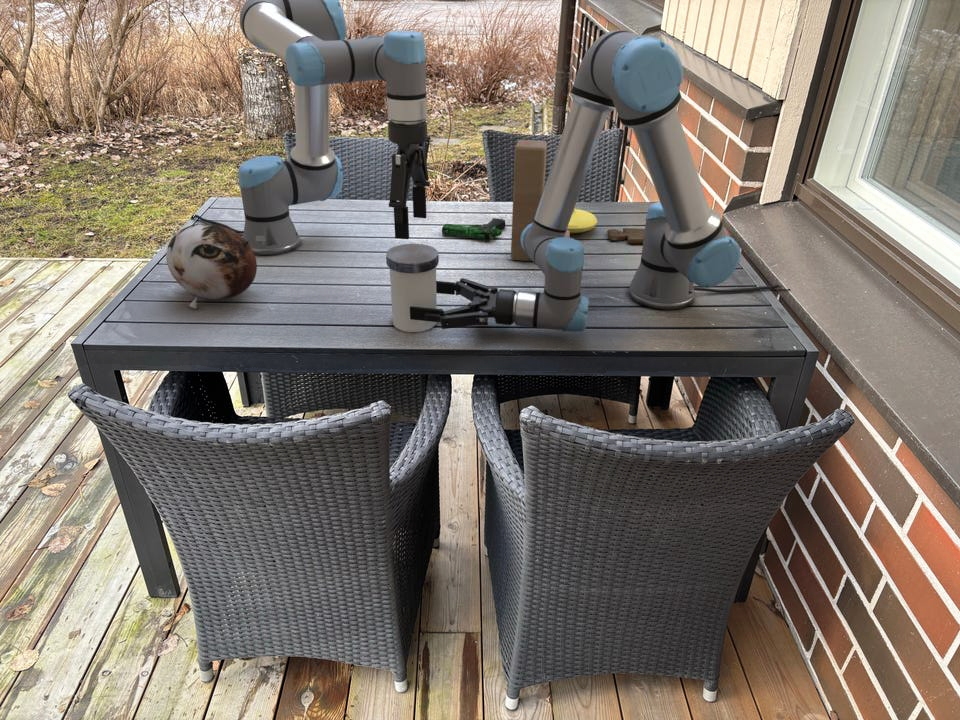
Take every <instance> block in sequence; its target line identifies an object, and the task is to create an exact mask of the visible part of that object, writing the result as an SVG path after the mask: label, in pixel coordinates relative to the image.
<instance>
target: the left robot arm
mask: <svg viewBox="0 0 960 720" xmlns="http://www.w3.org/2000/svg"><path fill="white" fill-rule="evenodd" d="M239 25H240V30H241V33H242V34H243V36H244V37H245V39H246V40H247V41H248V42H249V43H250V44H251V45H253V46H254V47H255V48H257V49H259V50H262V51H267V52H268V51H269V52H270V53H272V54H273V55H275V56H276V57H277V58H279V59H280V60H281V61H282V62H283V63H285V65H286V70H287V74H288V76H289V77H290V80H291V82H292V83H293V85H294V119H295V121H294V122H295V146H294V147H292V148H291V150H290V153H289V155H290V159H289V160H283V158H282V157H281V156H279V155H272V154H271V155H262V156H257V157H253V158H250V159H248V160H245V161H244V162H243V163H241V165H240V166H239V167H238V170H237V174H238V186H239V190H240V196H241V201H242V208H243V212H244V213H243V215H244V219H245V220H244V226H243V228H244V229H243V230H239V229H236V228H233V227H231V226H229V225H227V224H224V223H223V222H218V221H214V220H211V219H207V218H205V217H204V218H203V217H202V216H200V215H198V214H192V216H190V220H194V219H198V220H200V221H202V222H204V223H206V224H216V225H220V226H224V227H226V228H229V229H231V230H233V231H234V232H236V233H237V234H239V235H240V234H241V235H242V237H243V238H244V239H245V240H246V241H249V242H248V244H249V245H250V247H251V248H252V250H253V252H254V254H255V256H256V255H257V256H275V255H281V254H282V255H283V254H285V253H289V252H291V251H293V250H296V249H297V248H298V247H299V246H300V244H301V241H300V235H299V233H298V231H297V229H296V227H295V225H294V223H293V220H292V218H291V216H290V206H295V205H301V204H308V203H314V202H324V201H326V200H330V199H334V198H336V197H338V196H339V195H340V193H341V191H342V188H343V183H344V173H343V166H342V163H341V160H340V158H339V157H338V156H337V155H336V153H335V152H334V150H333V149H332V148H331V147H330V126H331V125H330V120H331V119H330V116H331V115H330V114H331V113H330V111H331V107H330V106H331V104H330V103H331V85H334V84H335V85H336V84H345V83H359V82H371V81H372V82H373V81H383V82H385V90H386V93H385V94H386V95H385V96H386V100H385V101H384V105H385V107H387V119H388V122H387V133H388V140H389V141H390V143H392V144H396V145H397V151H396V153H392V155H391V175H390V177H391V178H390V190H389V202H388V208H393V221H394V222H393V223H394V239H399V240H409V239H410V225H409V223H410V221H409V206H408V205H407V204H408V203H407V202H408V196H409V190H410V183H411V179H412V183H413V186H412V215H413V217H412V218H416V219H417V218H418V219H426V218H427V188H429V187H430V185H431V181H429V179H430V176H429V172H428V163H427V157H426V152H425V142H427V140H428V122H427V121H426V120H427V118H428V103H427V101H428V100H427V98H428V97H427V51H426V42H425V41H426V40H425V37H424V35H423V34H422V32H419V31H412V30H392V31H391V30H390V31H388V32H386V33H385V34H384V36H382V35H367V36H365V37H363V38H354V39H353V38H351V39H346V38H347V22H346V17H345V13H344V10H343V7H342V5H341V1H340V0H246V2H245V3H244V4H243V6H242V8H241V10H240V14H239ZM426 187H427V188H426ZM194 215H195V216H194ZM193 216H194V217H193Z"/></svg>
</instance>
